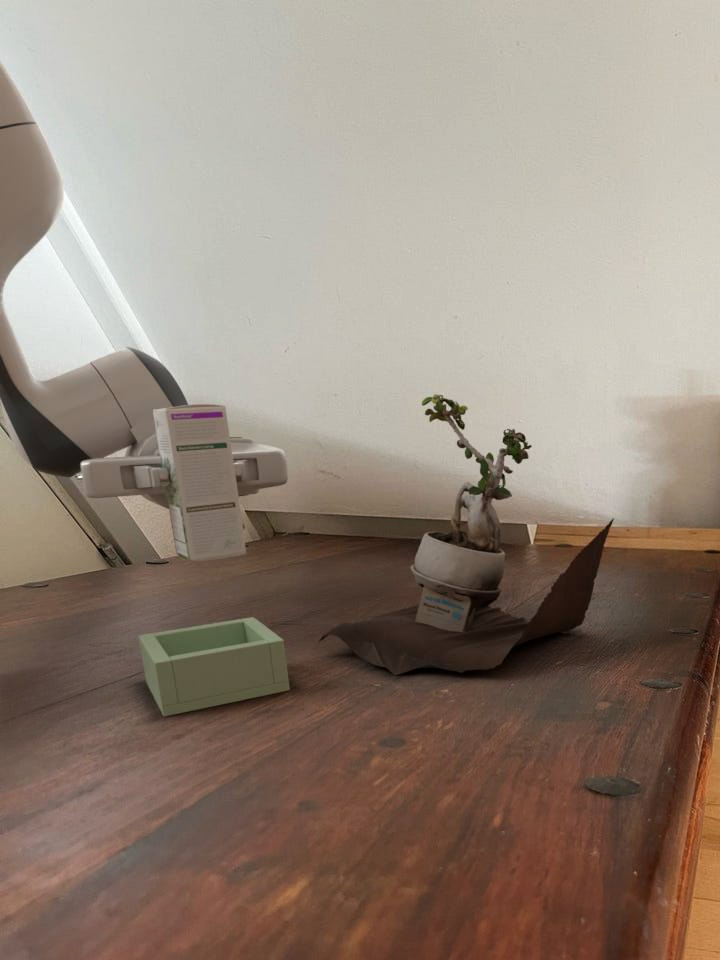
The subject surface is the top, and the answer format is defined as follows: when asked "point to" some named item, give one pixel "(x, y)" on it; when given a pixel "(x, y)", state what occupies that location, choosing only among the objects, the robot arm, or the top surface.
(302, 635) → the top surface
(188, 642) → the socket
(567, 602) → the potted plant
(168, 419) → the syrup box
